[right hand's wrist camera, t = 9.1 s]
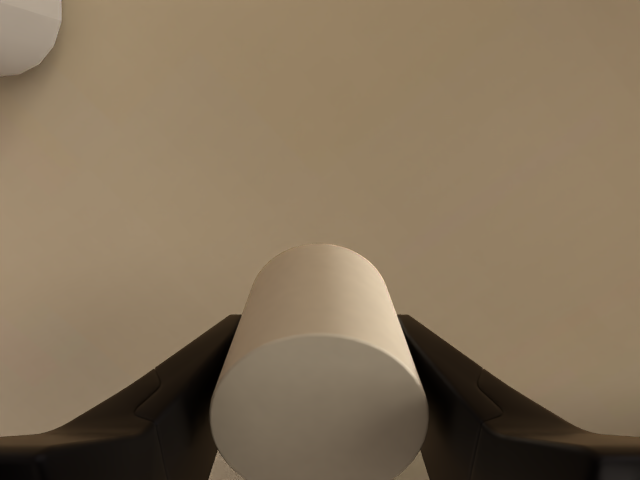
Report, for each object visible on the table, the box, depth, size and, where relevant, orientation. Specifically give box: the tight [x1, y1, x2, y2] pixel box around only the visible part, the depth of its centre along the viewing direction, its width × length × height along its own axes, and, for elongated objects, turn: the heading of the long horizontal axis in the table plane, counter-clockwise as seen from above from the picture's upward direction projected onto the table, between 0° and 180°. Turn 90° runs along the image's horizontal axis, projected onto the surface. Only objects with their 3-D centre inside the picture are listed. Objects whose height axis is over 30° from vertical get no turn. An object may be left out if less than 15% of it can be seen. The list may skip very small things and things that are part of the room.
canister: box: [209, 243, 429, 480], centre depth 10 cm, size 5×5×5 cm
